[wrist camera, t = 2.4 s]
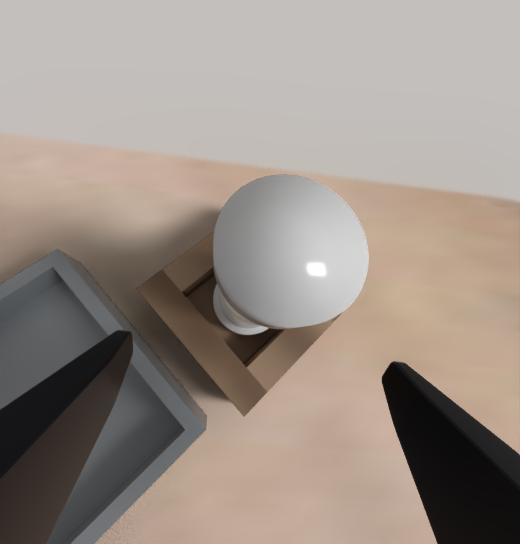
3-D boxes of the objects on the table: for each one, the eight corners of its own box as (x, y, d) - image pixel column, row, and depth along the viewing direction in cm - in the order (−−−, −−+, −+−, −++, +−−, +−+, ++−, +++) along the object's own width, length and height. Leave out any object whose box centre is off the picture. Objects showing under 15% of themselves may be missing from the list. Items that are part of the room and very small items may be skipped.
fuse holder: (238, 404, 18) (244, 417, 15) (148, 296, 19) (136, 288, 16) (331, 309, 21) (350, 304, 18) (249, 219, 22) (255, 201, 19)
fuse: (243, 349, 18) (294, 365, 7) (199, 298, 19) (177, 231, 7) (289, 305, 20) (397, 255, 8) (248, 258, 20) (295, 150, 9)
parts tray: (-10, 633, 13) (-68, 708, 10) (-158, 416, 14) (-244, 434, 11) (206, 416, 17) (205, 429, 15) (80, 262, 18) (57, 248, 16)
